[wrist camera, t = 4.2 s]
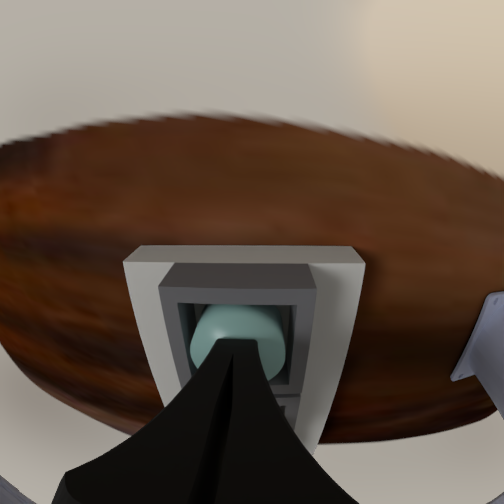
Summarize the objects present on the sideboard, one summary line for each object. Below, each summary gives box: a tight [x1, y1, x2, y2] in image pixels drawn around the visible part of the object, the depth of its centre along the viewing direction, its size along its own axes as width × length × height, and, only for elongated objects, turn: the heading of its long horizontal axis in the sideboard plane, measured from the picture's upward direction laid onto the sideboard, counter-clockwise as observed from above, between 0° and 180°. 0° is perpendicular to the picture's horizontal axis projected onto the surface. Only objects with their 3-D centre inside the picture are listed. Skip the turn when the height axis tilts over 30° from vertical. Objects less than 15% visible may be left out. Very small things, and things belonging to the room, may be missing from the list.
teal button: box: [190, 304, 285, 380], centre depth 10 cm, size 3×3×2 cm
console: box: [123, 245, 366, 455], centre depth 13 cm, size 10×16×4 cm, turn 1°
